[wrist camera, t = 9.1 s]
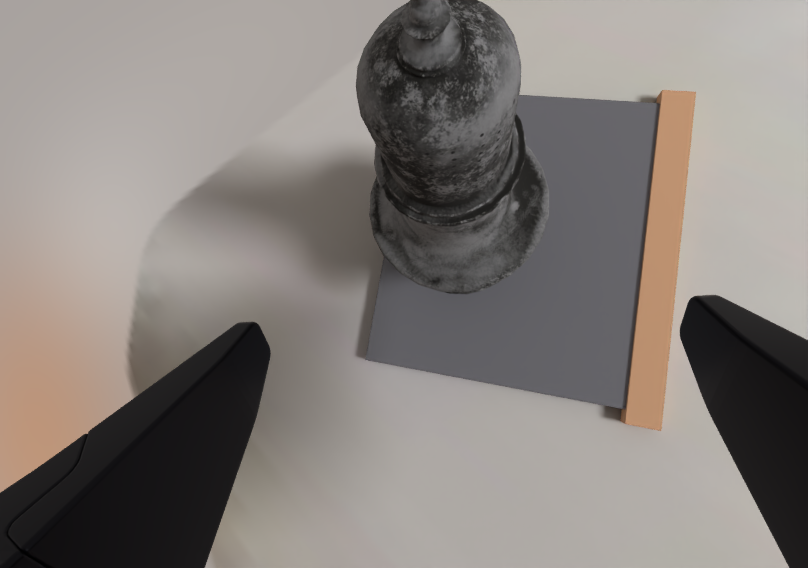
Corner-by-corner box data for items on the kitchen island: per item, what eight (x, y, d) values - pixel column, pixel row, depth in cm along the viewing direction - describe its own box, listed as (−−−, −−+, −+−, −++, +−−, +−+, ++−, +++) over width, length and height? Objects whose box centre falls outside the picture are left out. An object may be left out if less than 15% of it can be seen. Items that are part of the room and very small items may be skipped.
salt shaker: (363, 242, 18) (135, 53, 6) (451, 136, 18) (398, -270, 6) (470, 331, 16) (451, 318, 5) (565, 218, 16) (795, -89, 5)
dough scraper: (689, 99, 16) (696, 91, 16) (655, 428, 15) (661, 430, 15) (417, 83, 19) (415, 76, 18) (365, 371, 17) (362, 372, 17)
